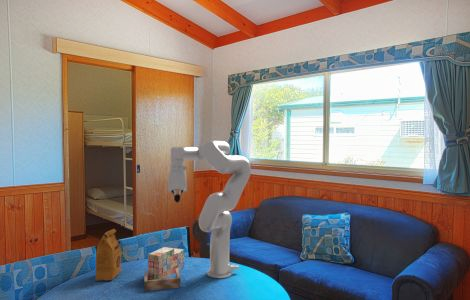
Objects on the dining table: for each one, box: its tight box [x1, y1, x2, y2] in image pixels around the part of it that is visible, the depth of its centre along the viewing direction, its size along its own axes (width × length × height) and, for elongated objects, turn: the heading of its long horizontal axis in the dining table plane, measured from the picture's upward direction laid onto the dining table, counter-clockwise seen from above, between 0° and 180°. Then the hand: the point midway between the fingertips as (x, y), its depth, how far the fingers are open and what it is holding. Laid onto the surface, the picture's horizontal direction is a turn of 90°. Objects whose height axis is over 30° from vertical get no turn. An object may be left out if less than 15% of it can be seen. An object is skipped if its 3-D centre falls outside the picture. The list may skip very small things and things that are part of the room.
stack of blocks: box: [147, 246, 185, 280], centre depth 165 cm, size 21×6×12 cm, turn 155°
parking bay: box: [143, 269, 182, 292], centre depth 152 cm, size 15×13×4 cm
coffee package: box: [95, 228, 122, 282], centre depth 159 cm, size 10×12×22 cm
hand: (177, 201), depth 186 cm, fingers closed
